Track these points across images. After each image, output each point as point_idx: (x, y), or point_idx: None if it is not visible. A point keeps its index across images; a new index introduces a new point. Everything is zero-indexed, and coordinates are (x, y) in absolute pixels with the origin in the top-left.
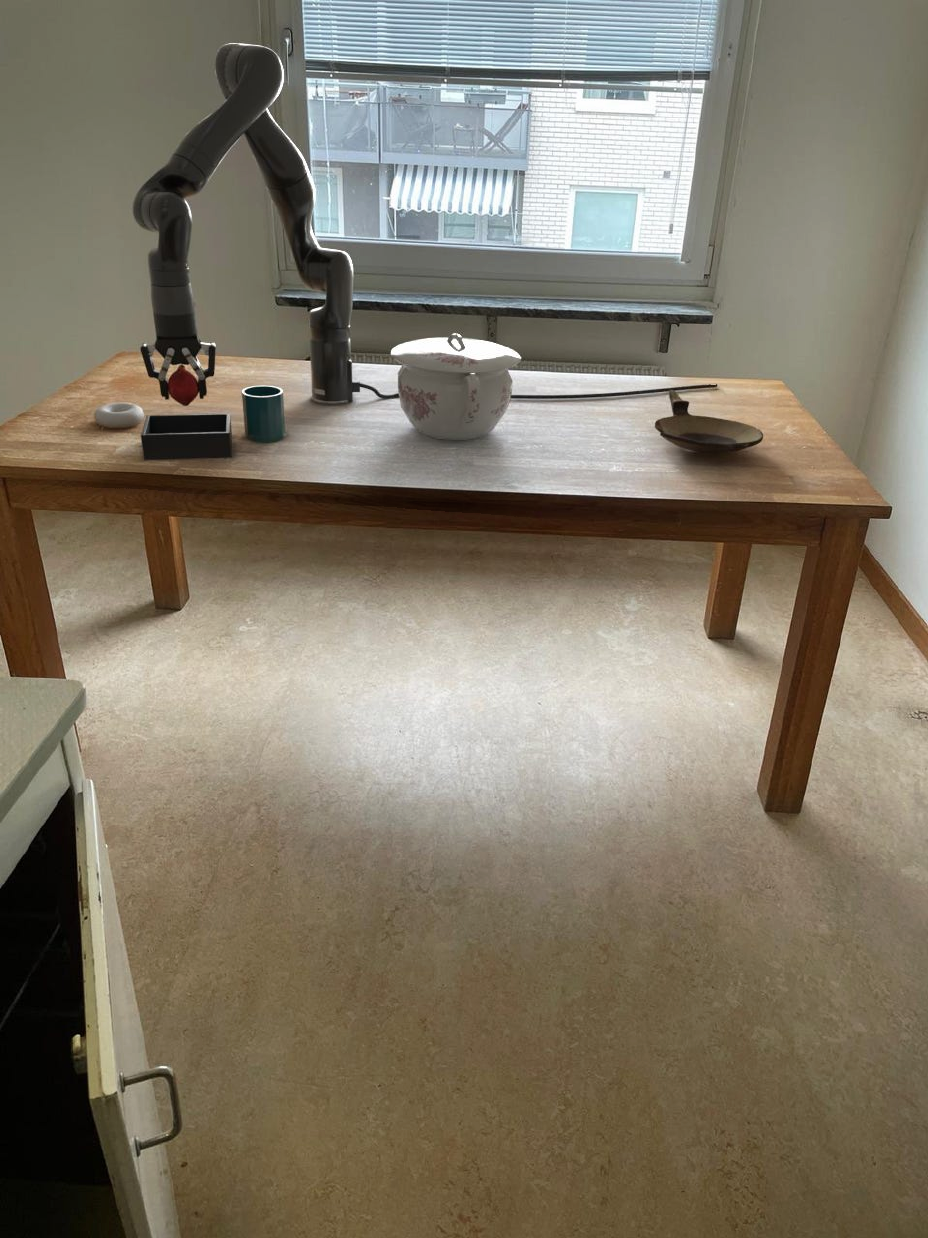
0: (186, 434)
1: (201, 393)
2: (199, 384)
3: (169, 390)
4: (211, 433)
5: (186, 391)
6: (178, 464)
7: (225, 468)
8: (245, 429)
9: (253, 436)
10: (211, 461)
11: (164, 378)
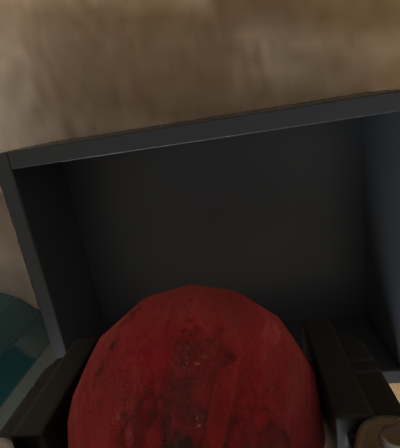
0: (187, 124)
1: (72, 356)
2: (47, 404)
3: (298, 349)
4: (70, 142)
5: (146, 307)
6: (228, 51)
7: (38, 16)
8: (38, 347)
9: (10, 308)
10: (110, 95)
11: (361, 435)
